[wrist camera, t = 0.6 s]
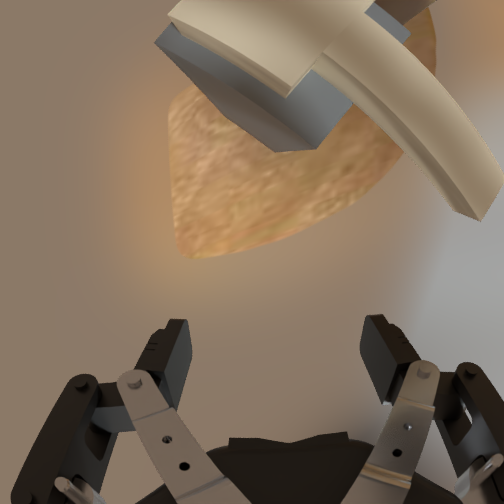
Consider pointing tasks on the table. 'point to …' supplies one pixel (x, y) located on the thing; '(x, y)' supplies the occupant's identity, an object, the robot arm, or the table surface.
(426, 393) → the robot arm
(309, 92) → the tall grey pillar
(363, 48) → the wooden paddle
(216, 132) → the table surface
